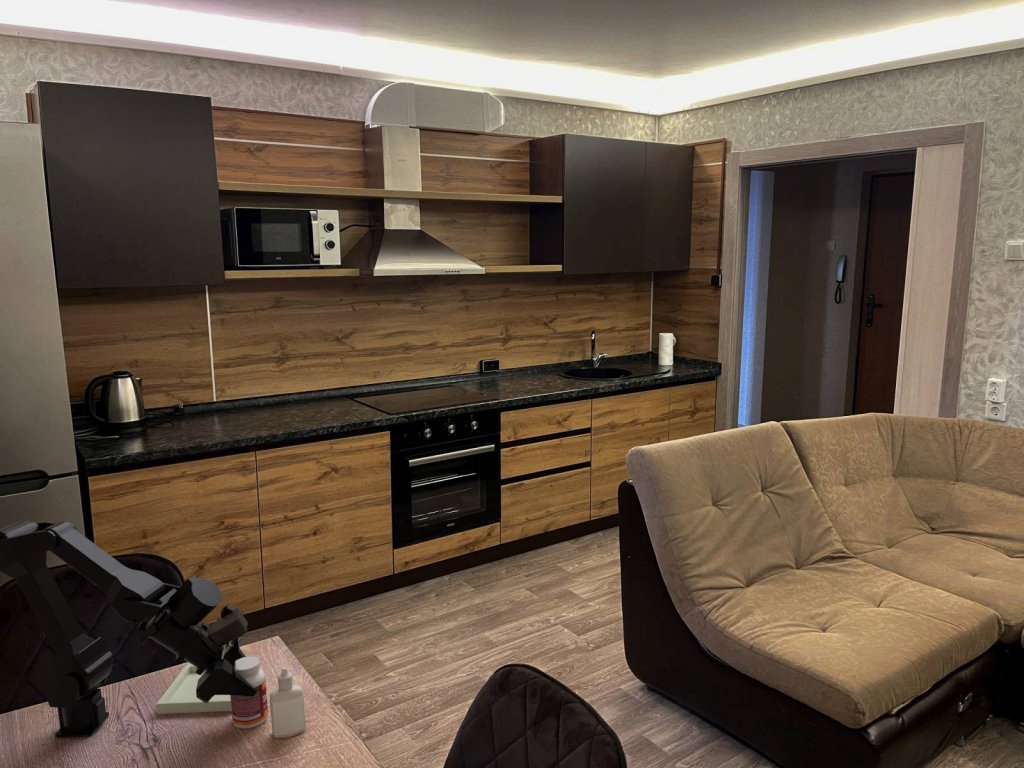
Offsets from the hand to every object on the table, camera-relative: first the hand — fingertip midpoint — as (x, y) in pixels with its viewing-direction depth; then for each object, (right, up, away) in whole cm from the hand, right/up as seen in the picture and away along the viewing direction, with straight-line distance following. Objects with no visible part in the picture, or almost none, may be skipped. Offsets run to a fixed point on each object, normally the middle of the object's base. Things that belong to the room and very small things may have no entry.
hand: (256, 684), depth 134 cm
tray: (-12, -5, +10) cm, 17 cm away
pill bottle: (-1, -7, +1) cm, 7 cm away
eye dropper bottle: (+7, -7, -3) cm, 11 cm away
